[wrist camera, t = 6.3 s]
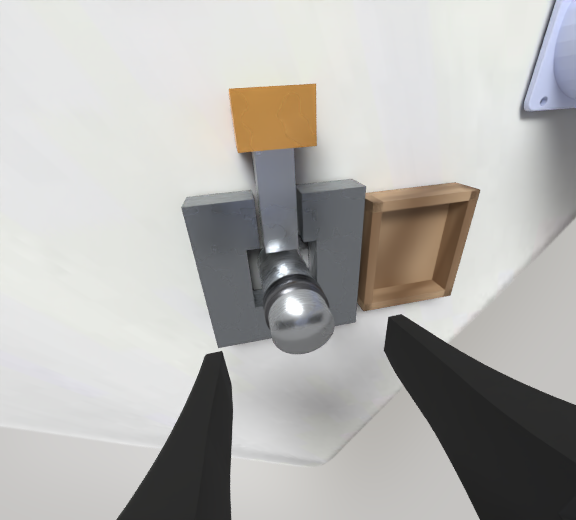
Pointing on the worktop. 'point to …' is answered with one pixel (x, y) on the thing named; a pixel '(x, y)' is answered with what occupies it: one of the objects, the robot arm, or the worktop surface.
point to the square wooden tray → (413, 243)
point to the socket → (244, 236)
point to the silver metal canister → (293, 303)
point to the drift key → (275, 151)
